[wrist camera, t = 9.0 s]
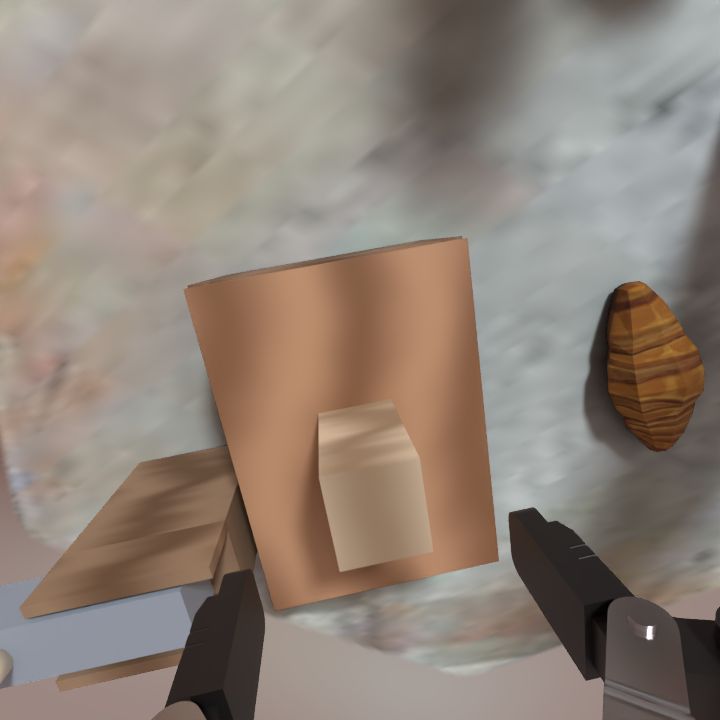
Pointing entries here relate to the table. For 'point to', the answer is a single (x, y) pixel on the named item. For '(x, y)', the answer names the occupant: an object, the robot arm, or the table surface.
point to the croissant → (651, 366)
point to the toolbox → (161, 531)
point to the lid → (354, 418)
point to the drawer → (92, 631)
